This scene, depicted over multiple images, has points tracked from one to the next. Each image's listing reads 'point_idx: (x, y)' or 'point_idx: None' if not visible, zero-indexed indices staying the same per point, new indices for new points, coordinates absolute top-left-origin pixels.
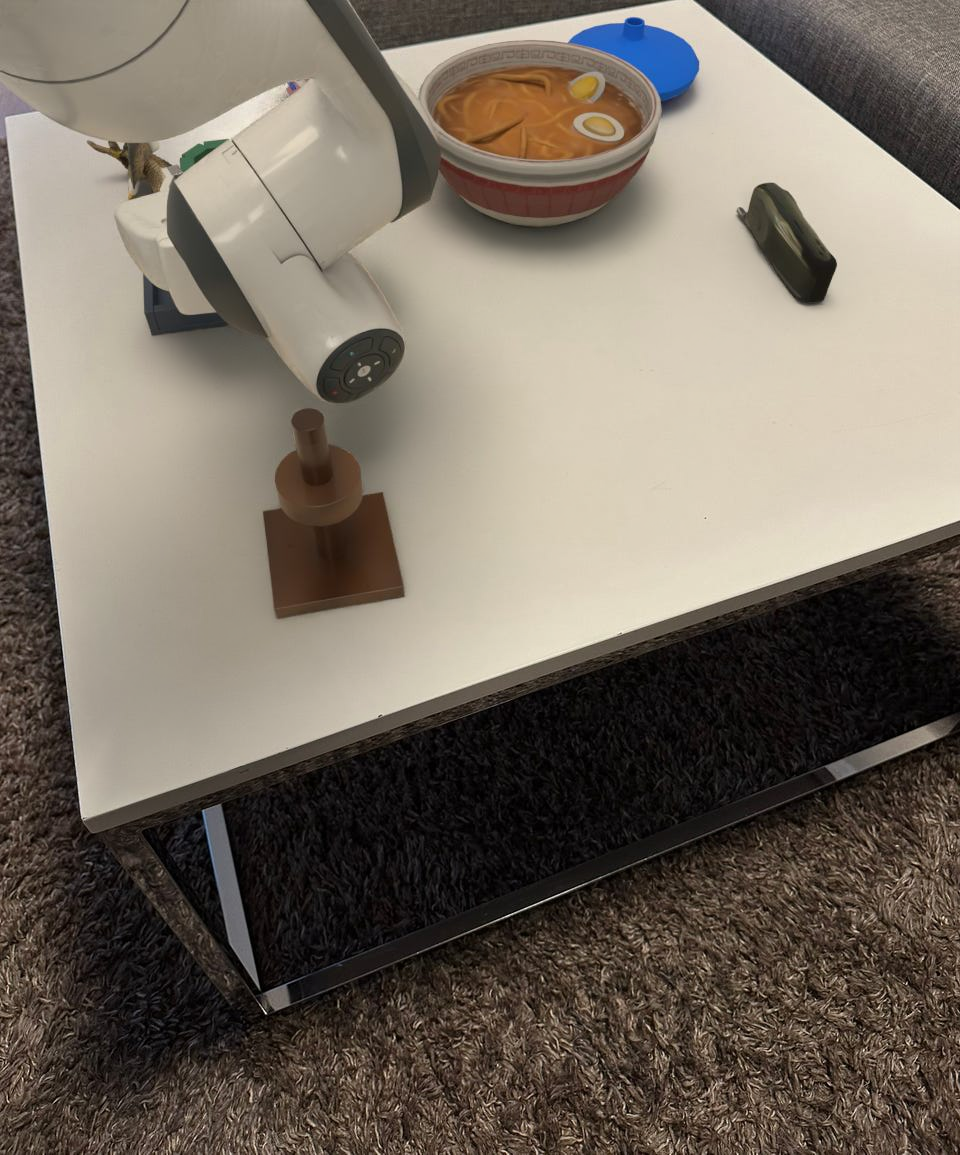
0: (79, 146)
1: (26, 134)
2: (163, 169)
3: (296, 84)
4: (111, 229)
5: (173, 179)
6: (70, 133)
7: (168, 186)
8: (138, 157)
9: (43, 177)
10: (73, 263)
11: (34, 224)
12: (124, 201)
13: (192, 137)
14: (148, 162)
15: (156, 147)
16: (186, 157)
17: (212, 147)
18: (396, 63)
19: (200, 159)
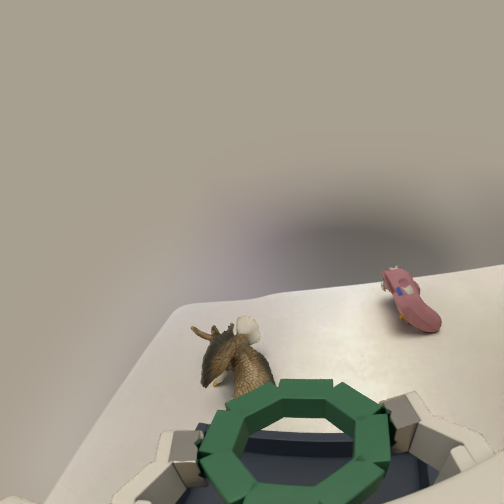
0: (206, 325)
1: (179, 311)
2: (163, 437)
3: (403, 290)
4: (178, 417)
5: (166, 472)
6: (206, 314)
7: (134, 497)
8: (221, 354)
9: (164, 346)
10: (120, 446)
11: (125, 388)
12: (13, 499)
13: (298, 329)
14: (239, 355)
15: (256, 339)
16: (230, 413)
17: (293, 397)
18: (461, 279)
19: (261, 417)
